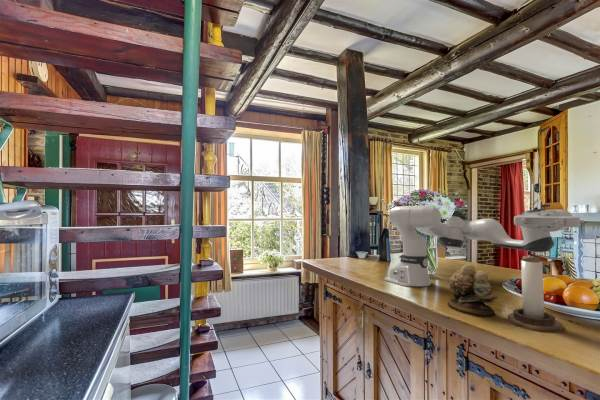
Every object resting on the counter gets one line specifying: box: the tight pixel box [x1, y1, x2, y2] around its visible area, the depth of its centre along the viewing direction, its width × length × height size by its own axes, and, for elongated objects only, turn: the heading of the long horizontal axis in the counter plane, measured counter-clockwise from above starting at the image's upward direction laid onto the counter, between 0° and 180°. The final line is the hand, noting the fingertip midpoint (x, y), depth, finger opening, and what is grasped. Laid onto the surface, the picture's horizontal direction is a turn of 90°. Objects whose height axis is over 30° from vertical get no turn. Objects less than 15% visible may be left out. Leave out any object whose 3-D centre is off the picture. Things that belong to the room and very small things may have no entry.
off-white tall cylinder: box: [520, 255, 545, 319], centre depth 98 cm, size 6×6×20 cm
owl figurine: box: [447, 263, 498, 318], centre depth 111 cm, size 18×12×17 cm, turn 25°
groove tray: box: [507, 307, 563, 333], centre depth 98 cm, size 14×14×3 cm
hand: (538, 222), depth 114 cm, fingers open, 8 cm apart
